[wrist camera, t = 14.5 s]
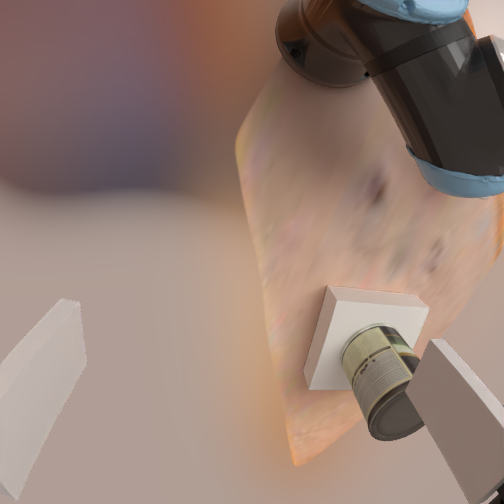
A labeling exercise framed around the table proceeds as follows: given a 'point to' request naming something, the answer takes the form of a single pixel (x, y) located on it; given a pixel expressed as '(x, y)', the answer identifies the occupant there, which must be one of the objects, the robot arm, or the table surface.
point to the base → (356, 328)
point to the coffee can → (382, 380)
